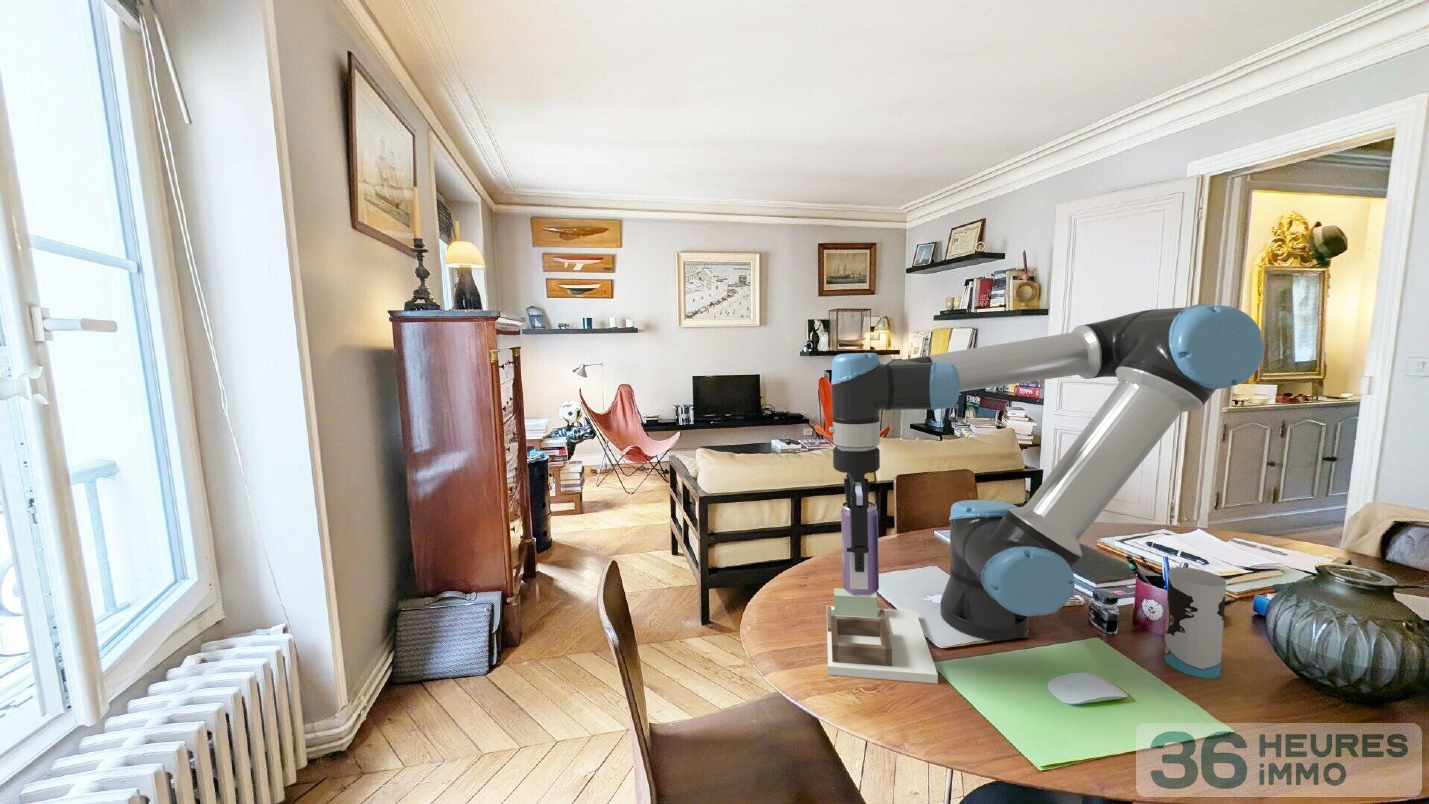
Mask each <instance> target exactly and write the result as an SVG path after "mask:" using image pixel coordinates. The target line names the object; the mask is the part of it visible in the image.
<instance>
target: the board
mask: <svg viewBox="0 0 1429 804" xmlns="http://www.w3.org/2000/svg"><path fill="white" fill-rule="evenodd" d="M831 616H843V615H835V611H834V605H826V630H827V631H826V636H827V642H826V643H827V675H828V676H840V677H849V678H850V677H851V678H864V679H875V680H876V679H877V680H887V681H888V680H889V681H891V680H892V681H900V682H913V683H914V682H915V683H927V684H938V683H939V682H938V681H939V680H938V679H939V678H938V677H939V674H938V671H937V668H936V666H935V663H934V660H933V657H932V655H931V652H930V649H929V645H928V642H927V640H926V637H925V634H924V631H923V627H922V626H921V625H922V624H921V623H920V620H919V617H918V614H917V612H916V610H911V609H891V608H877V617H863V618H880V619H885V621H886V626H887V630H888V635H889V639H890V643H891V648H892V667H891V666H878V665H865V664H851V663H838V662H832V636H831ZM845 617H861V616H845ZM838 642H843V643H857V644H872V645H881V640H880V637H870V636H854V635H838Z"/></svg>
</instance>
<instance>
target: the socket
mask: <svg viewBox="0 0 1429 804" xmlns="http://www.w3.org/2000/svg"><path fill="white" fill-rule="evenodd" d="M838 635H854V636H870V637H880V640H881V645H872V644H857V643H843V642H838ZM831 636H832V662H838V663H851V664H865V665H878V666H891V667H892V648H891V643H890V639H889V635H888V630H887V626H886V621H885V619H880V618H863V617H845V616H831Z"/></svg>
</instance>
